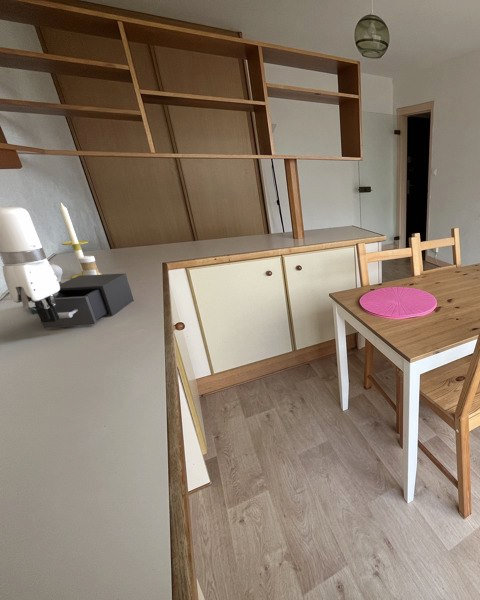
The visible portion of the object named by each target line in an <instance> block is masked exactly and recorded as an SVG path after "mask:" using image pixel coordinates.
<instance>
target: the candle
mask: <svg viewBox="0 0 480 600" xmlns="http://www.w3.org/2000/svg"><path fill="white" fill-rule="evenodd" d="M59 211H60V214H61V217H62V219H63V222H64V225H65V227H66V231H67V233H68V236H69V239H70V240H69V241H64V242H61V245H62V246H72V250H73V252H74V255H75V258H76V260H77V263H78V266H79V269H80V271H81V273H78V274H73V275H72V276H71V279H73V278H75V277H77V276H82V275H84V272H83V269H82V266H81V264H80V262H79V260H78V258H79V257H84V256H85V255H84V253H83V249H82V247H81V245H84V244H88V243H89V240H78V237H77V234H76V231H75V228H74V225H73V222H72V220H71V217H70V214H69V212H68V209H67V207H65V206H64V204H63V203H62V202H60V206H59ZM99 274H100V275H102V272H99Z"/></svg>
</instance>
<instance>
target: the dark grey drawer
mask: <svg viewBox="0 0 480 600" xmlns="http://www.w3.org/2000/svg"><path fill="white" fill-rule="evenodd" d="M58 293H59V294H58V295H57V296H56V297H55V299H54V300H55V303H56V305H55V308H56V311H57V313H58V316H59V318H60V319H59V320H57V321H55V322H44V323H43V322H41V325H42V327H43V329H52V328H65V327H75V326H76V327H78V326H89V325H96V324H97V323H98V320H99V319H101V318H103V317H102V316H103V315H105V314H106V313H108V309H107V306H106V303H105V301H104V298H103V295H102V292H101V289H100V288H98V289H80V290H62V291H58ZM37 319H38V320H40V318H39V315H38V314H37ZM40 321H41V320H40Z"/></svg>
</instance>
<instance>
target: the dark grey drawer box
mask: <svg viewBox="0 0 480 600" xmlns="http://www.w3.org/2000/svg"><path fill="white" fill-rule="evenodd" d="M59 285H60V290H59V291H62V290H80V289H98V288H100V289H101V292H102V295H103V298H104V301H105V303H106V306H107V309H108V313H106V314H105V315H103V316H102V317H101V318H105V317H106V318H107V317H113V316H115V315H116V314H118V313H119V312H121V311H122V310H123V309H125V308H126V307H127V306H129V305H130V304H131V303H133V302H134V301H135V299H134V296H133V293H132V289H131V286H130V283H129V280H128V276H127V274H126V273H105V274H101V275H82V276H77V277H75V278H70V279H69V280H66V281H63V282H61V284H59Z"/></svg>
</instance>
